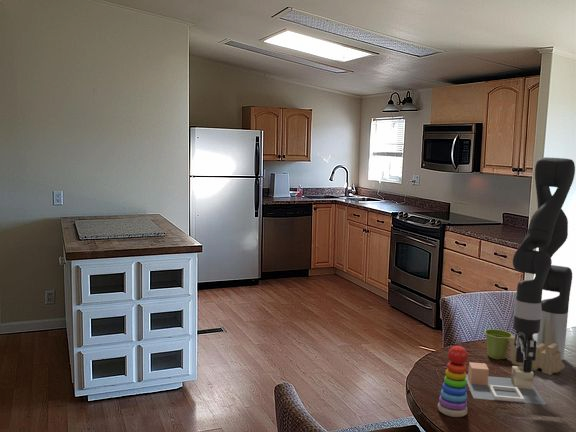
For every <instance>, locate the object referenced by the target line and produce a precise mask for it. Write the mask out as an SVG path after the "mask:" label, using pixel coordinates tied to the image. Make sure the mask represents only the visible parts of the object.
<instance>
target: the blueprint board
mask: <svg viewBox="0 0 576 432" xmlns="http://www.w3.org/2000/svg"><path fill="white" fill-rule="evenodd" d="M465 379H466V381H467V384H466V385H467V386H468V389H469V391H470V393H471V396H472V398H473V399H476V400H477V399H478V400H486V401H487V400H489V401H499V402H508V403H509V402H510V403H519V404H520V403H521V404H531V405H543V406H547V404H546V402H545V400H544V399H543V398H542V396H541V394H539V392H538V390H537V389H536V387H535V386H534V385H533V387H532V389H524V388H517V387H514V385H513V384H512V382H511V377H502V376H501V377H500V376H490V375H488V385H478V384H471V383H470V381H469V379H468V373H466V378H465Z"/></svg>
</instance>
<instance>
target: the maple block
mask: <svg viewBox="0 0 576 432" xmlns="http://www.w3.org/2000/svg"><path fill="white" fill-rule="evenodd" d="M510 378H511V382H512V384H513V385H514V387H517V388H524V389H532V387H533V386H534V385H533V384H534V372H533V370H531V373H526V372H524V371H523V367H522V366H519V365H512V366H511V375H510Z"/></svg>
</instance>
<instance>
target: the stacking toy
mask: <svg viewBox="0 0 576 432" xmlns="http://www.w3.org/2000/svg"><path fill="white" fill-rule="evenodd" d="M447 355H448V359H449V362H448V363H447V364H446V368H447V369H445V373H444V374H445V376H444V378H443V381H444V382H443V383H442V388H441V390H440V395H439V398H438V403H437V409H438V411H439V412H440V413H441V414H444V415H445V416H448V417H452V418H462V417H464V416H466V415H467V414H468V401H467V399H468V393H467V385H468V384H467V381H466V379H465V378H466V374H467V373H466V371H467V365H466V364H465V363H466V362H467V360H468V352H467V350H466V349H465V347H463V346H461V345H453V346H452V347H451V348H450V349H449V350H448V352H447Z"/></svg>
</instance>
